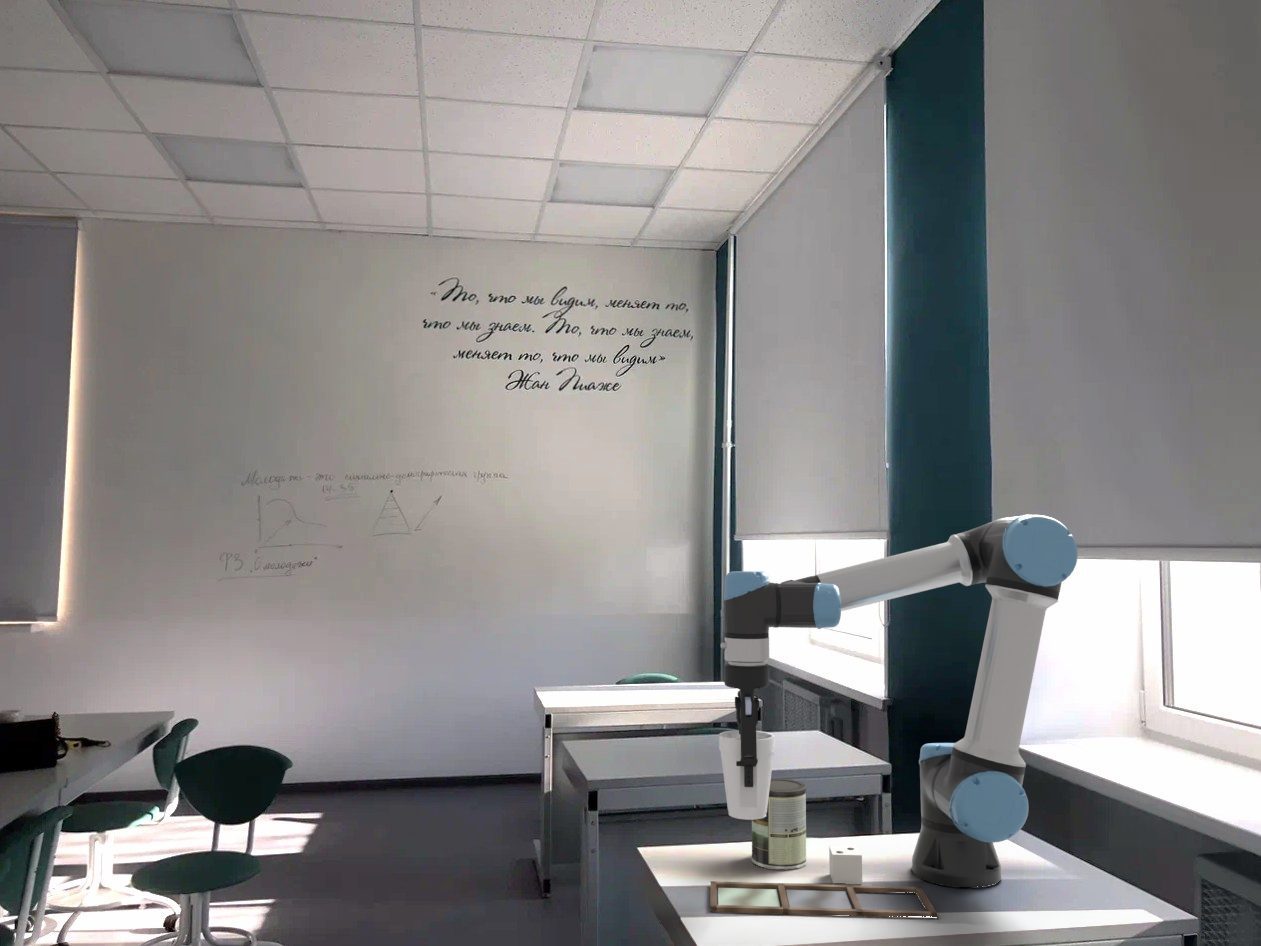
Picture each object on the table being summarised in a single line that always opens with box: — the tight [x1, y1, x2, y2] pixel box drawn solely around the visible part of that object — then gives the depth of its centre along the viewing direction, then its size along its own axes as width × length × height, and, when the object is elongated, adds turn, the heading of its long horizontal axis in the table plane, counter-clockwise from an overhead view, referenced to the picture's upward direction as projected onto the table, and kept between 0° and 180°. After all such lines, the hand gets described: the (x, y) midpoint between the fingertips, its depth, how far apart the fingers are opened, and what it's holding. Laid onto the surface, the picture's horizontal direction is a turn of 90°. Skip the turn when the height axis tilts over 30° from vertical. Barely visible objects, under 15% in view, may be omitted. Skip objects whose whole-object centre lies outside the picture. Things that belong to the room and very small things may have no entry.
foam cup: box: [718, 729, 776, 821], centre depth 165 cm, size 10×9×13 cm
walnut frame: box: [709, 880, 939, 918], centre depth 162 cm, size 36×12×1 cm, turn 85°
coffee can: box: [751, 778, 808, 870], centre depth 184 cm, size 10×10×14 cm
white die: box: [828, 845, 863, 885], centre depth 174 cm, size 5×5×5 cm
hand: (747, 798), depth 164 cm, fingers closed on foam cup, 9 cm apart
